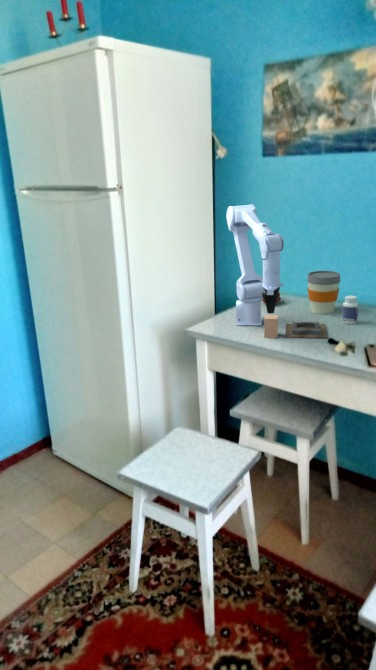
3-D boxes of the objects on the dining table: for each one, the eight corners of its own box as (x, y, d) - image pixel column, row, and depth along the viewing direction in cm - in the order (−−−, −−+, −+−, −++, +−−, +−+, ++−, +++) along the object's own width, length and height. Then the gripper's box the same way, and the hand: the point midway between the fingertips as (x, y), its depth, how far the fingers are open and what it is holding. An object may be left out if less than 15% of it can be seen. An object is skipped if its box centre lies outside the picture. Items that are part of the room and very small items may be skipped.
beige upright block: (264, 337, 169) (264, 318, 166) (265, 333, 173) (265, 314, 170) (277, 337, 168) (277, 318, 165) (277, 333, 172) (277, 314, 169)
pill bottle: (357, 324, 176) (359, 298, 173) (342, 324, 177) (344, 298, 174) (356, 320, 181) (357, 294, 178) (341, 319, 182) (342, 294, 179)
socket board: (285, 337, 167) (285, 332, 167) (286, 324, 180) (286, 319, 179) (327, 338, 164) (327, 333, 164) (324, 325, 177) (325, 320, 176)
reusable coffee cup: (306, 305, 201) (307, 270, 196) (338, 306, 198) (340, 270, 193) (305, 315, 190) (306, 277, 185) (339, 316, 186) (341, 277, 181)
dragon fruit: (272, 302, 214) (271, 314, 204) (256, 292, 213) (255, 303, 202) (283, 288, 210) (284, 299, 200) (267, 277, 209) (267, 288, 198)
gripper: (283, 275, 155) (282, 316, 159) (283, 266, 168) (283, 303, 173) (260, 276, 156) (260, 316, 161) (263, 266, 170) (263, 303, 174)
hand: (271, 309), depth 167 cm, fingers open, 7 cm apart
